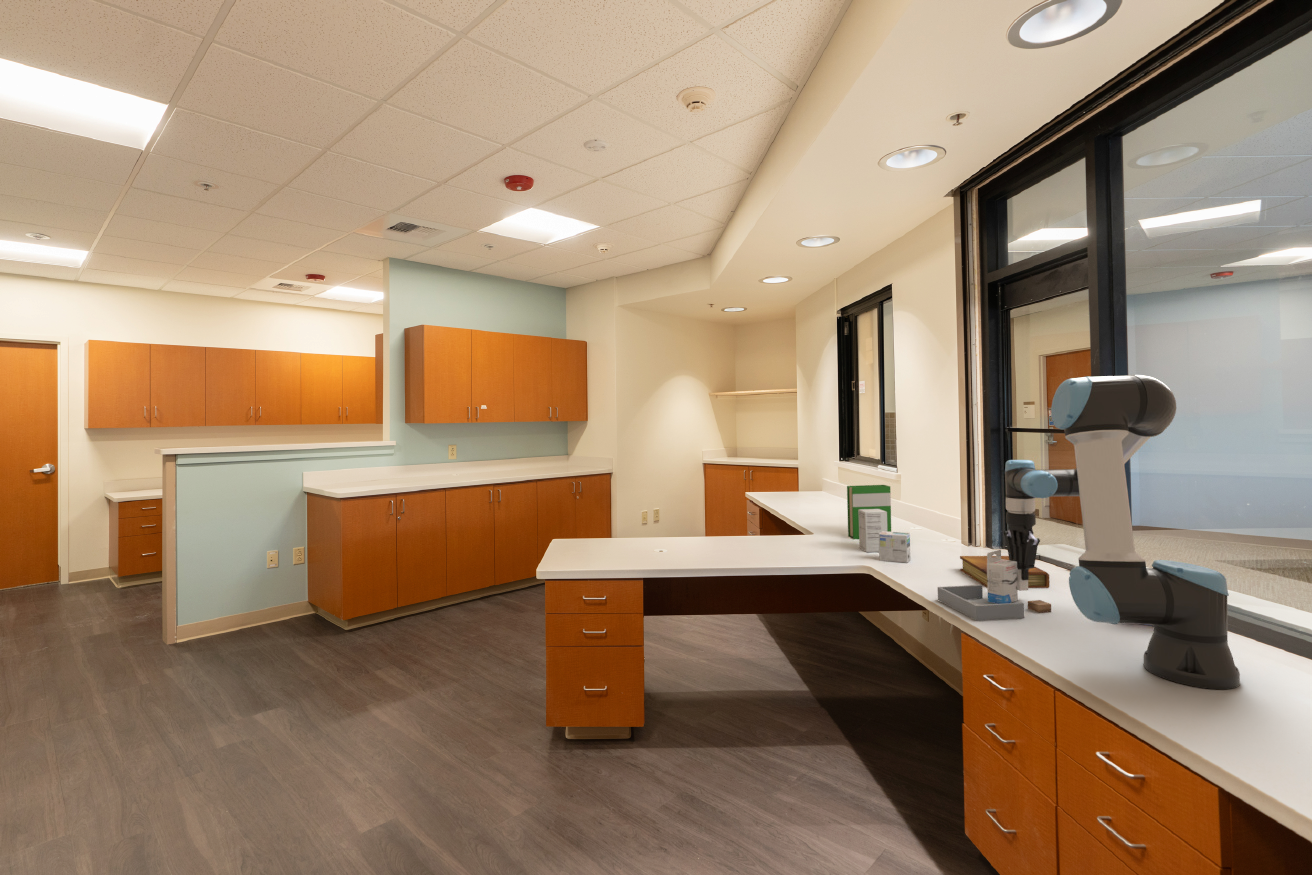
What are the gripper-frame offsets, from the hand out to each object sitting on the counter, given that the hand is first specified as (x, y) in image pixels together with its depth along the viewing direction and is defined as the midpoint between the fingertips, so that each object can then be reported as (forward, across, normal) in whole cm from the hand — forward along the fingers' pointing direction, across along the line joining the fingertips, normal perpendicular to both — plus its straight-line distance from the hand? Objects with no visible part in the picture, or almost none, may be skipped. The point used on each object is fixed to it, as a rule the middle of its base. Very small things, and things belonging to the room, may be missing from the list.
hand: (1022, 589), depth 178 cm
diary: (+4, +23, -10) cm, 26 cm away
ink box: (+3, 0, +6) cm, 7 cm away
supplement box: (+4, +74, +13) cm, 75 cm away
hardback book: (+4, +100, +3) cm, 100 cm away
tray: (+3, -5, +17) cm, 18 cm away
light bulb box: (+4, +55, +13) cm, 57 cm away
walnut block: (+3, -10, +2) cm, 10 cm away
